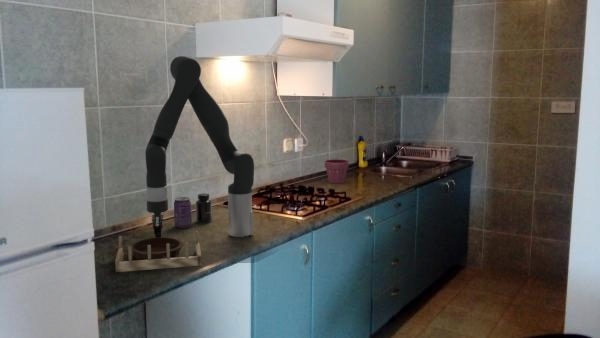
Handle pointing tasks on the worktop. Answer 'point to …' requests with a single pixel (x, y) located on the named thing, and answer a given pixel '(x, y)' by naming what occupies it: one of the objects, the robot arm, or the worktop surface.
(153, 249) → the dish
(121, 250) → the rack
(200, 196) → the supplement bottle
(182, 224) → the beverage can
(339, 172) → the plant pot
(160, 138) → the robot arm
